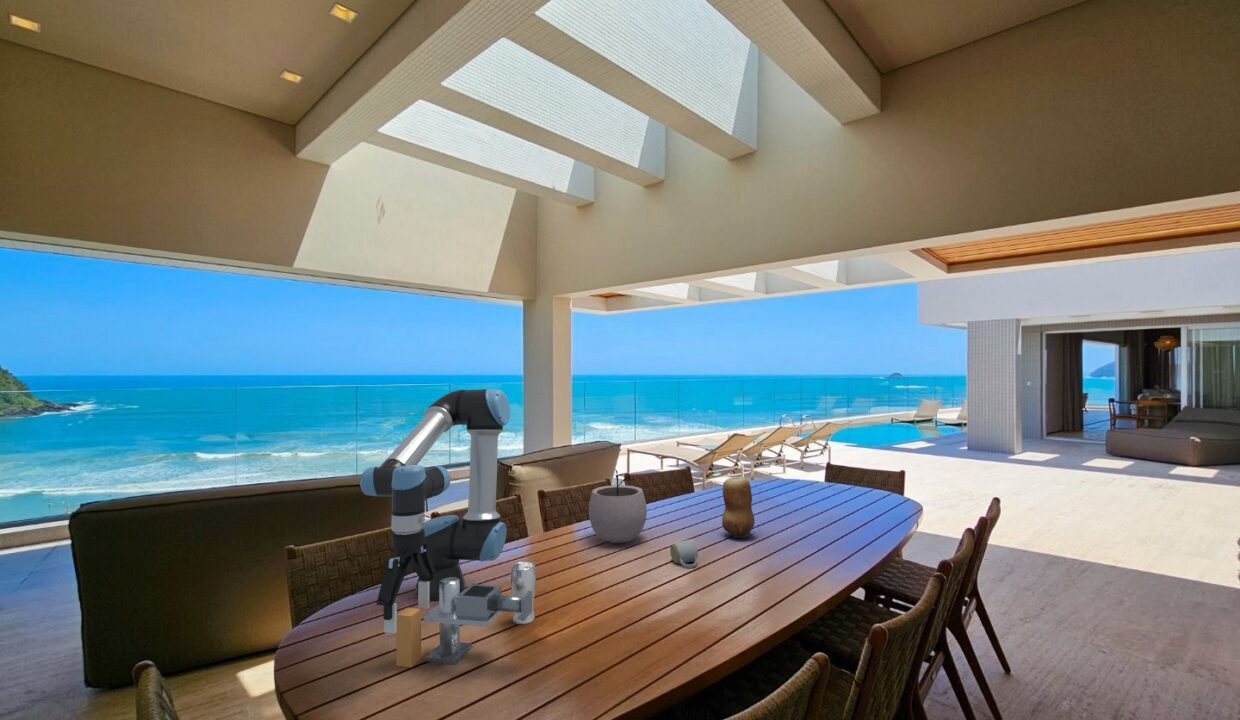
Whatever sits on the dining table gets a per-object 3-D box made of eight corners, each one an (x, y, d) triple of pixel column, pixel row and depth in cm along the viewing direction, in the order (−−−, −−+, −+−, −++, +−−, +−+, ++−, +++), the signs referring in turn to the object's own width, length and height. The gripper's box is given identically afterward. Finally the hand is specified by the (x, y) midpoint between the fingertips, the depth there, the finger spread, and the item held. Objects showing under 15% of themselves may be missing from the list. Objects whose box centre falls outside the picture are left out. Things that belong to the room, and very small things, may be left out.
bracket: (456, 617, 127) (456, 596, 127) (472, 603, 135) (471, 583, 135) (522, 623, 124) (521, 601, 124) (534, 608, 131) (534, 588, 132)
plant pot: (648, 550, 207) (647, 473, 207) (587, 551, 207) (586, 473, 208) (646, 532, 231) (645, 462, 231) (591, 532, 231) (590, 463, 232)
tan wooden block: (396, 665, 127) (396, 614, 127) (406, 656, 130) (406, 607, 131) (411, 667, 126) (411, 616, 126) (421, 658, 130) (420, 608, 130)
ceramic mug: (669, 560, 196) (668, 539, 196) (689, 557, 198) (688, 536, 198) (681, 570, 186) (681, 548, 186) (702, 567, 188) (702, 545, 188)
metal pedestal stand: (423, 663, 127) (423, 587, 128) (445, 642, 137) (445, 572, 138) (487, 670, 124) (487, 592, 124) (505, 648, 134) (504, 576, 134)
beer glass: (524, 627, 145) (524, 571, 145) (505, 621, 149) (505, 567, 149) (541, 617, 151) (540, 564, 151) (522, 611, 154) (522, 559, 155)
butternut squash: (718, 532, 228) (717, 474, 228) (748, 531, 229) (747, 473, 230) (728, 543, 214) (727, 480, 215) (760, 541, 215) (759, 479, 216)
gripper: (390, 546, 116) (389, 645, 115) (449, 518, 140) (448, 599, 139) (359, 545, 117) (358, 642, 117) (423, 517, 142) (423, 597, 141)
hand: (407, 619), depth 128 cm, fingers open, 13 cm apart
